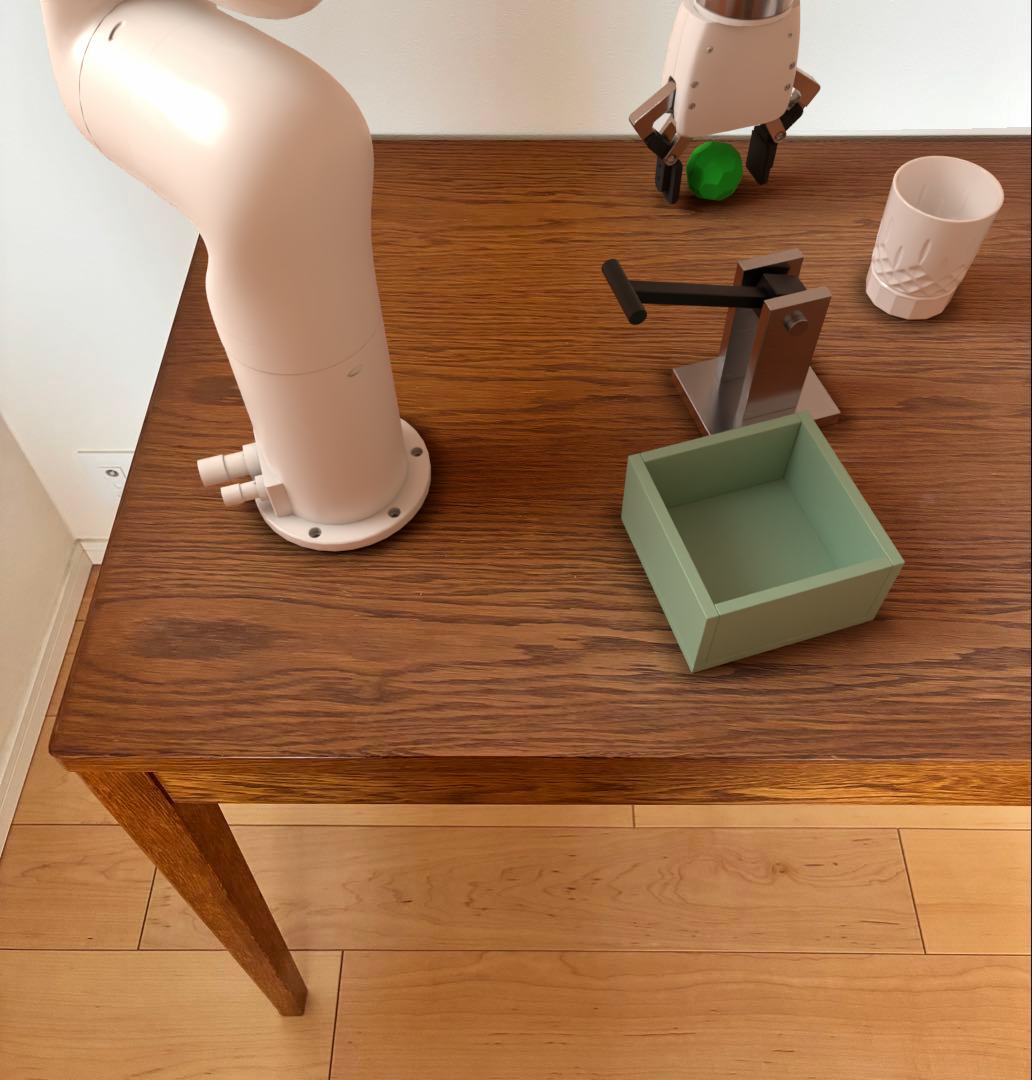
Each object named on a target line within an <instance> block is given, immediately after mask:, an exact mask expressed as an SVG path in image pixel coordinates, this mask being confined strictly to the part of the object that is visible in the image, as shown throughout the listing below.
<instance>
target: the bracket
mask: <svg viewBox="0 0 1032 1080" xmlns="http://www.w3.org/2000/svg"><path fill="white" fill-rule="evenodd" d="M804 260H805V256H804V255H803V253H802V251H801V250H800V249H799V247H793V248H790V249H785V250H781V251H776V252H771V253H767V254H763V255H760V256H759V255H758V256H755V257H750V258H746V259H742V260H738V261H737V264H736V269H735V273H734V278H733V284H732V286H749V287H756V286H757V284H758V282H759V281H760V279H761V277H762V275H763V274H764V273H766V274H782V275H796V276H798V278H800V275H801V274H800V273H801V270H802V266H803V263H804V262H803V261H804ZM832 297H833V294H832V293H831V291H830V290H829V289H828V287H827V286H826V285H822V286H819V287H815V288H810V289H807V290H806V291H801V292H797V293H793V294H789V295H784V296H780V297H776V298H772V299H767V300H764V302H763V306H762V311H761V315H760V319H758V317H757V316H756V314H755V312H754V311H753V309H752V308H730V307H727V311H726V312H727V313H726V317H725V321H724V327H723V332H722V336H721V341H720V346H719V349H718V350H719V351H718V356H717V357H715V358H710V359H706V360H702V361H698V362H693V363H690V364H686V365H682V366H677V367H673V368H672V369H671V370H672V371H671V378H670V379H671V383H673V385H674V387H675V389H676V391H677V392H678V394H679V396H680V398H681V400H682V402H683V403H684V405H685V408H686V409H687V411H688V412H689V415H690V416H691V418H692V420H693V422H694V423H695V425H696V427H697V430H698V431H699V433H700V435H701V437H705V436H709V435H713V434H717V433H721V432H725V431H729V430H733V429H737V428H741V427H745V426H748V425H752V424H756V423H760V422H764V421H768V420H772V419H776V418H780V417H784V416H788V415H791V414H797V413H799V412H803V411H808V412H809V413H810V415H811V416H812V418H813V420H814V421H815V423H816V424H817V426H818V427H819V428H823V427H827V426H831V425H834V424H835V425H836V424H837V423H838V421H839V419H840V417H841V410H840V409H839V407H838V406H837V404H836V403H835V402H834V399H832V397H831V395H830V394H829V392H828V391H827V389H826V387H825V386H824V384H823V383H822V381H821V380H820V379H819V377H818V376H817V375H816V373H815V371H814V369H813V368H812V367H811V363H812V361H813V357H814V355H815V351H816V348H817V344H818V342H819V338H820V335H821V331H822V330H823V329H822V328H823V327H824V326H823V325H824V322H825V319H826V316H827V313H828V310H829V307H830V303H831V301H832Z"/></svg>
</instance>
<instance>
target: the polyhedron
mask: <svg viewBox="0 0 1032 1080" xmlns="http://www.w3.org/2000/svg"><path fill="white" fill-rule="evenodd" d="M685 174H686V181H687V186H688V189H689V191H690V192H691V193H692V194H694V196H696V198H698V199H702V200H711V201H723V200H725V199H726V198H728V197H730V196H732V195H733V194H734V192H735V191H736V190H737V188H738V187H739V184H740V183H741V180H742V179H743V175H744V166H743V159H742V155H741V153H740V152H739V150H737V149H736V148H735V146H734V145H733V144H731V143H729V142H723V141H714V140H712V141H709V140H708V141H705V142H704V143H702V144H701V145H698V146H697V147H696V148H695V149H694V150H693V151H692V153H691V154H690V156H689V158H688V161H687V163H686V165H685Z"/></svg>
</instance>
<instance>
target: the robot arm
mask: <svg viewBox="0 0 1032 1080" xmlns="http://www.w3.org/2000/svg"><path fill="white" fill-rule="evenodd" d="M322 1H323V0H39V4H40V10H41V15H42V21H43V27H44V33H45V38H46V44H47V45H46V46H47V50H48V55H49V60H50V64H51V68H52V69H51V70H52V72H53V76H54V80H55V84H56V88H57V90H58V93H59V96H60V100H61V102H62V104H63V106H64V108H65V110H66V112H67V113H68V117H69V118H70V120H71V121H72V123H73V124H74V126H75V127H76V130H77V131H78V132H79V133H80V134H81V135H82V136H83V138H84V139H85V140H86V141H87V142H88V143H89V144H90V145H91V146H92V147H93V148H94V149H95V150H97V151H98V152H99V153H100V154H101V155H102V156H103V157H105V158H106V159H108V160H109V161H110V162H112V163H113V164H114V165H115V166H117V167H118V168H119V169H121V170H122V171H124V172H125V173H127V174H128V175H130V176H131V177H133V178H134V179H135V180H136V181H138V182H140V183H141V184H143V185H144V186H145V187H147V188H148V189H150V190H151V191H152V192H153V193H154V194H155V195H157V196H158V197H159V198H161V199H162V200H163V201H164V202H166V203H168V204H169V205H170V206H172V207H173V208H175V209H176V210H177V211H178V212H179V213H181V214H182V215H183V216H184V217H185V218H186V219H188V221H189V222H191V224H192V225H193V226H194V227H195V228H196V229H197V231H198V233H199V234H200V237H201V238H202V240H203V242H204V245H205V247H206V250H207V255H208V259H207V260H208V262H207V270H206V273H205V293H206V299H207V302H208V306H209V311H210V314H211V317H212V320H213V323H214V325H215V328H216V331H217V334H218V337H219V339H220V342H221V344H222V346H223V348H224V351H225V354H226V356H227V359H228V361H229V364H230V367H231V370H232V373H233V376H234V378H235V381H236V384H237V386H238V387H237V388H238V390H239V392H240V395H241V398H242V400H243V404H244V406H245V409H246V411H247V414H248V418H249V419H250V423H251V425H252V428H253V429H252V431H253V435H254V442H250V443H247V444H243V445H242V451H237V452H233V453H228V454H225V455H224V453H222V454H218V455H214V456H210V457H206V458H201V459H198V460H197V461H196V462H197V469H198V472H199V476H200V477H199V478H200V480H201V482H202V485H203V486H204V488H207V487H211V486H215V485H219V484H223V483H229V482H232V481H231V480H234V479H239V478H244V477H247V476H249V477H250V479H251V481H248V482H247V481H246V482H242V483H240V482H238V483H233V484H230V485H226V486H222V487H220V493H221V497H222V498H221V499H222V500H223V503H224V506H225V507H226V508H229V507H231V506H237V505H240V504H244V503H245V502H248V501H253V500H254V501H255V504H256V506H257V509H258V512H259V513H260V515H261V516H262V519H263V520H264V522H265V523H266V524H267V526H269V528H270V529H271V530H273V532H274V533H276V534H277V535H278V536H280V537H282V538H283V539H285V540H286V541H287V542H290V543H292V544H295V545H296V546H299V547H302V548H307V549H311V550H315V551H324V552H326V551H327V552H342V551H343V552H344V551H351V550H356V549H360V548H361V549H362V548H365V547H369V546H371V545H375V544H376V543H378V542H381V541H383V540H385V539H387V538H389V537H390V536H392V535H394V534H395V533H397V532H398V531H400V530H402V528H403V527H404V526H406V525H407V524H408V523H409V522H411V520H412V519H413V518H414V517H415V516H416V514H417V513H418V512H419V510H420V509H421V508H422V507H423V505H424V503H425V500H426V498H427V496H428V494H429V491H430V486H431V482H432V465H431V461H430V454H429V450H428V448H427V446H426V443H425V441H424V439H423V438H422V437H421V436H420V434H419V432H418V431H417V430H416V429H415V428H414V427H413V426H412V425H411V424H410V423H409V422H408V421H406V420H405V419H403V418H401V415H400V409H399V403H398V397H397V393H396V386H395V381H394V375H393V369H392V363H391V357H390V351H389V346H388V340H387V339H388V338H387V334H386V328H385V323H384V317H383V311H382V306H381V299H380V293H379V288H378V282H377V276H376V269H375V262H374V252H373V245H372V244H373V243H372V203H373V190H374V175H375V155H374V146H373V145H374V144H373V141H372V140H373V139H372V136H371V131H370V128H369V125H368V123H367V120H366V118H365V117H364V114H363V112H362V110H361V108H360V107H359V106H358V104H357V102H356V101H355V99H354V98H353V97H352V95H351V94H350V92H348V91H347V89H346V88H345V87H344V86H343V85H342V83H340V82H339V81H338V80H337V79H336V78H335V77H334V76H333V75H332V74H331V73H329V72H328V71H327V70H326V69H324V68H323V67H322V66H321V65H319V64H318V63H317V62H315V61H314V60H313V59H311V58H309V57H308V56H306V55H305V54H303V53H301V51H298V50H296V49H295V48H293V47H291V46H290V45H287V44H286V43H284V42H282V41H280V40H278V39H276V38H275V37H273V36H271V35H269V34H267V33H266V32H264V31H262V30H261V29H258V28H257V27H255V26H253V25H251V24H249V23H247V22H245V21H244V20H241V19H238V18H236V17H234V16H232V15H230V14H228V13H227V12H224V11H223V10H221V9H219V8H218V7H221V8H224V9H226V10H230V11H232V12H235V13H238V14H240V15H242V16H243V15H244V16H246V17H251V18H256V19H263V20H275V21H279V20H288V19H293V18H296V17H298V16H302V15H305V14H306V13H308V12H311V11H312V10H313V9H315V8H317V7H318V6H319V5H320V4H321V3H322ZM669 36H670V37H669V40H668V44H667V49H666V54H665V60H664V64H663V69H662V76H661V82H660V88H659V89H658V90H657V91H656V92H655V93H653V95H651V96H650V97H648V99H647V100H645V101H644V102H643V103H642V104H641V105H640V106H638V107H637V108H636V109H635V110H633V111H632V112H631V113H630V114H629V116H628V121H629V123H630V125H631V126H632V128H633V129H634V131H635V132H636V134H637V135H638V136H639V138H640V139H641V140H642V141H643V143H644V145H645V146H646V147H647V148H648V149H649V150H650V151H651V152H652V153H653V154H654V155H656V164H655V165H656V166H655V172H654V173H655V175H654V185H655V189H656V190H657V192H659V193H662V195H663V196H664V198H665V199H666V201H667V203H668V205H670V206H671V205H675V204H677V203H678V202H679V199H680V191H681V185H682V177H683V169H684V165H683V163H682V161H681V160H680V158H681V156H682V155H683V154H684V152H685V150H686V149H687V148H688V146H689V145H690V144H691V142H692V141H693V139H694V138H700V137H706V136H711V135H715V134H721V133H726V132H730V131H736V130H740V129H744V128H745V129H746V128H750V127H753V129H752V130H751V135H750V140H749V145H748V150H747V157H746V160H745V168H746V170H747V171H748V172H749V174H750V175H751V177H752V178H753V179H754V180H755V182H756V183H757V184H758V185H760V186H763V185H767V184H768V182H769V177H770V172H771V169H772V168H773V167H774V163H775V159H776V154H777V149H778V145H779V144H780V143H782V142H783V141H784V140H785V139H786V137H787V131H788V130H789V129H790V128H791V127H793V125H794V124H795V123H796V122H797V121H798V120H799V119H800V118H801V117H802V116H803V115H804V110H805V108H807V107H808V106H809V105H810V104H811V102H812V101H813V100H814V98H815V97H816V96H817V95H818V93H820V91H821V85H820V83H819V82H818V81H817V80H816V79H815V78H814V76H813V75H810V74H809V73H807V72H806V71H804V70H803V69H801V68H800V67H798V66H797V65H798V59H799V50H800V38H801V0H681V2H680V4H679V7H678V11H677V13H676V16H675V19H674V22H673V26H672V29H671V32H670V35H669ZM793 89H794V90H793ZM664 114H665V115H666V114H669V116H668V118H667V119H666V121H665V122H664V123H663V125H662V126H661V128H660V129H659V131H658V129H656V128H655V127H654V124H655V122H656V121H657V120H659V119H660V118H661V117H662V116H663V115H664Z"/></svg>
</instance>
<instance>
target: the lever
mask: <svg viewBox="0 0 1032 1080" xmlns="http://www.w3.org/2000/svg"><path fill="white" fill-rule="evenodd" d="M600 270H601V273H602V275H603V276H604V278H605V280H606V281H607V284H608V285H609V288H610V290H611V291H612V293H613V295H614V297H615V298H616V300H617V303H618V304H619V306H620V308H621V310H622V311H623V314H624V315H625V318H626V319H627V321H628V323H629V324H630V325H632V326H638V325H642V324H643V323H644V322H645V321H646V319H648V311H647V310H646V308H645V307H644V305H664V306H683V307H684V306H686V307H688V306H689V307H709V308H710V307H713V308H728V307H730V308H752V309H753V311H754V312H755V314H756V316H757V317H758V319H760V315H761V311H762V306H763V302H764V300H767V299H772V298H776V297H780V296H784V295H789V294H793V293H797V292H801V291H806V290H808V289H807V288H806V286H805V285H804V283H803V282H802V280H801V279H800V277H798V276H796V275H782V274H766V273H764V274H763V275H762V277H761V279H760V281H759V282H758V284H757V286H756V287H749V286H733V285H729V284H728V285H727V284H709V283H693V282H692V283H691V282H690V283H689V282H676V281H675V282H674V281H673V282H672V281H653V280H635V279H629V278H628V276H627V274H626V272H625V270H624V269H623V267H622V265H621V263H620V262H619V260H618V259H616V258H609V259H607V260H605V261H604V262H603V263H602V265H601V268H600Z"/></svg>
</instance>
